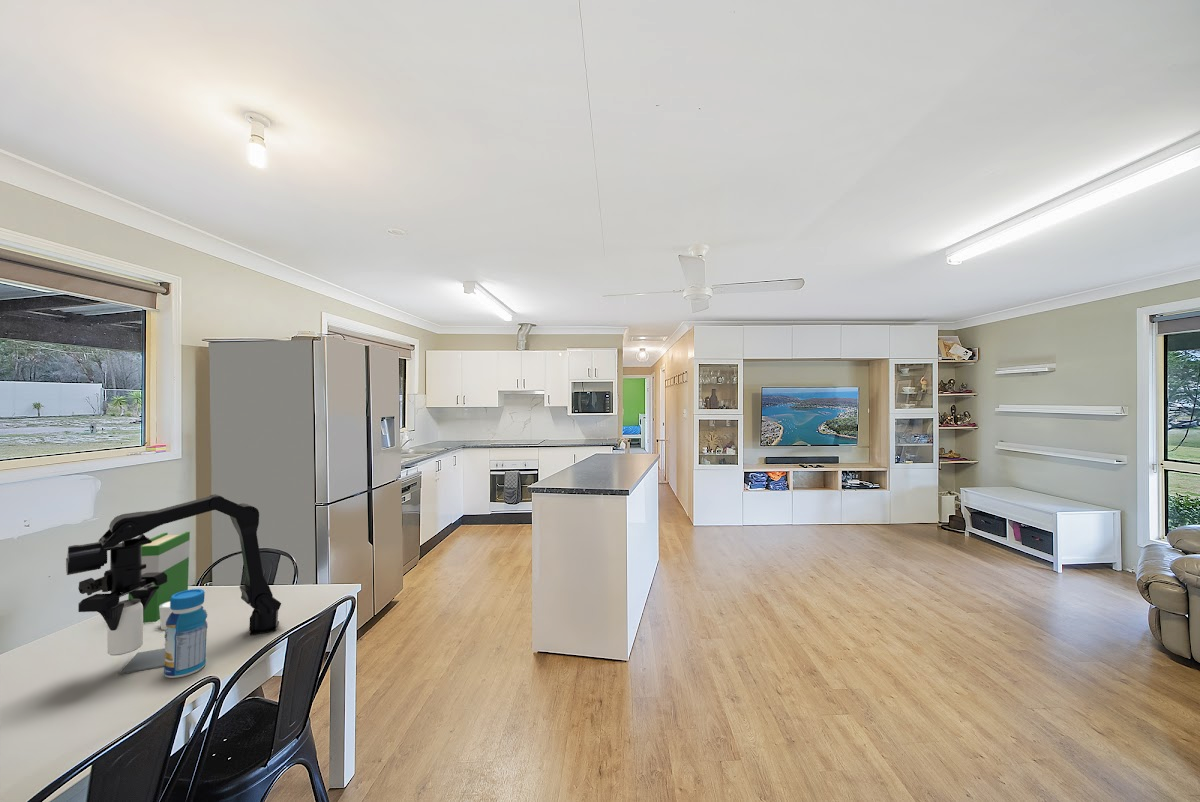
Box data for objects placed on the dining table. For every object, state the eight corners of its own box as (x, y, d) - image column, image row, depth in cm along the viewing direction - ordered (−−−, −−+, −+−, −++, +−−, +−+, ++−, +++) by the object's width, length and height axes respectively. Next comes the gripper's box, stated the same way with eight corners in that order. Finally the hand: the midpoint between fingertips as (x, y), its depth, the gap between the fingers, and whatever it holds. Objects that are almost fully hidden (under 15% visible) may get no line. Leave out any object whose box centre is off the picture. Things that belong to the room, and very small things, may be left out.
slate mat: (188, 645, 134) (188, 644, 134) (174, 665, 124) (174, 663, 124) (137, 654, 129) (137, 652, 129) (118, 674, 119) (118, 673, 119)
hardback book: (161, 601, 163) (164, 532, 164) (187, 599, 165) (189, 531, 166) (127, 624, 146) (130, 547, 147) (156, 621, 149) (159, 545, 149)
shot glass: (170, 620, 149) (171, 598, 149) (193, 620, 150) (194, 598, 150) (151, 631, 142) (152, 607, 142) (176, 630, 143) (176, 607, 143)
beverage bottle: (191, 678, 118) (194, 599, 119) (154, 680, 117) (157, 600, 117) (213, 660, 127) (216, 586, 127) (178, 662, 125) (181, 587, 126)
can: (105, 659, 116) (105, 611, 116) (109, 648, 121) (109, 602, 121) (141, 650, 121) (141, 604, 120) (144, 640, 125) (144, 595, 125)
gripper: (125, 552, 129) (125, 608, 129) (53, 578, 111) (53, 643, 111) (168, 551, 130) (168, 607, 130) (104, 577, 112) (104, 641, 112)
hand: (126, 623), depth 121 cm, fingers closed on can, 6 cm apart
